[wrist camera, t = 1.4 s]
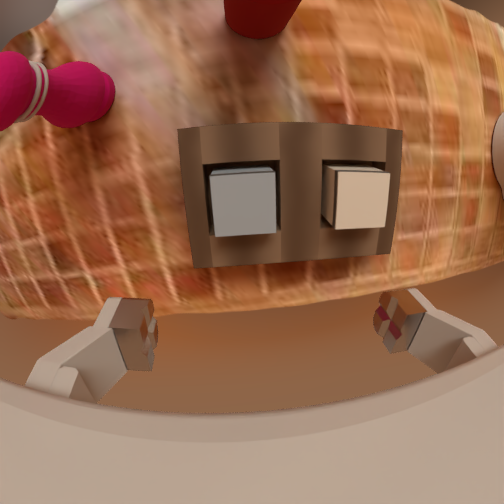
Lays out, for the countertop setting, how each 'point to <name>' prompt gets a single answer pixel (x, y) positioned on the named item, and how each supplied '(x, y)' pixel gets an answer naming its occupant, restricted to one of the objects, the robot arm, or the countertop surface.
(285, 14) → the beverage can
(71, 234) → the countertop surface
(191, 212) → the frame
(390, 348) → the robot arm
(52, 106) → the pepper mill
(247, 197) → the slate key
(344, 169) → the cream key
